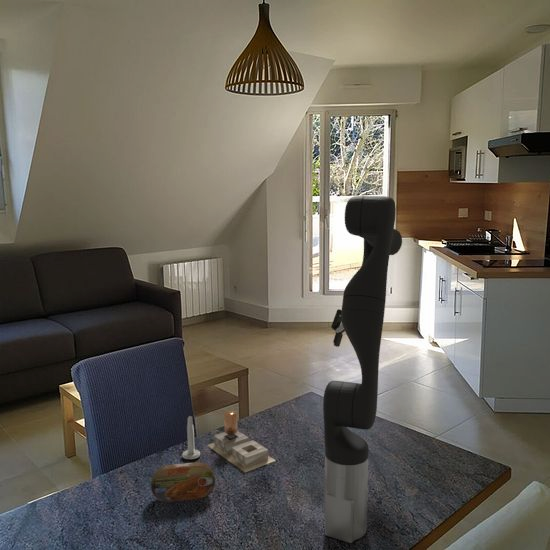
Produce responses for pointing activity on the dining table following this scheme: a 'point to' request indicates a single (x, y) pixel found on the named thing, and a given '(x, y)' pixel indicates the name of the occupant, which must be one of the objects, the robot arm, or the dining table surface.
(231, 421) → the copper-coloured round peg
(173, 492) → the tin
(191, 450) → the screw
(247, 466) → the white peg insertion board
